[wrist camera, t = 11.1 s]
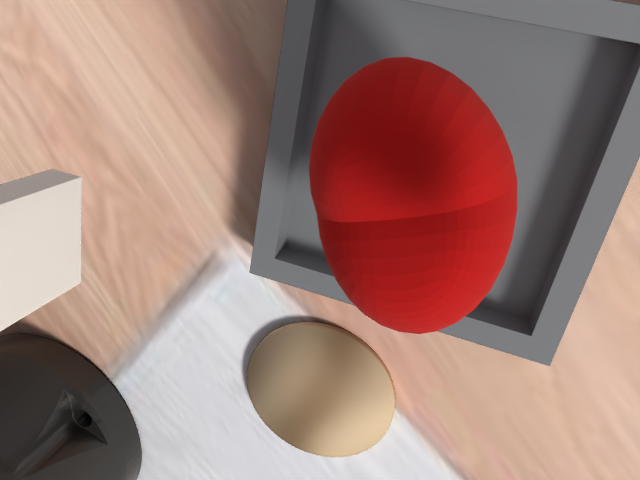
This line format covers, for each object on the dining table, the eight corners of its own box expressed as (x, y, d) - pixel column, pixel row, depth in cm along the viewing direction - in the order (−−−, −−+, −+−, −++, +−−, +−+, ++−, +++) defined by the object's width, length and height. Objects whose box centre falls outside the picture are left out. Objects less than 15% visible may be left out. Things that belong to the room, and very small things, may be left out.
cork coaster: (241, 421, 34) (238, 426, 34) (260, 301, 31) (256, 305, 30) (376, 471, 32) (374, 477, 32) (412, 350, 29) (411, 355, 28)
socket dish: (267, 255, 30) (249, 272, 27) (313, -46, 24) (295, -55, 21) (544, 339, 27) (549, 365, 24) (678, 18, 21) (700, 15, 18)
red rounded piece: (343, 72, 24) (245, 84, 15) (506, 38, 22) (500, 28, 13) (377, 262, 27) (309, 368, 18) (525, 252, 24) (533, 369, 15)
